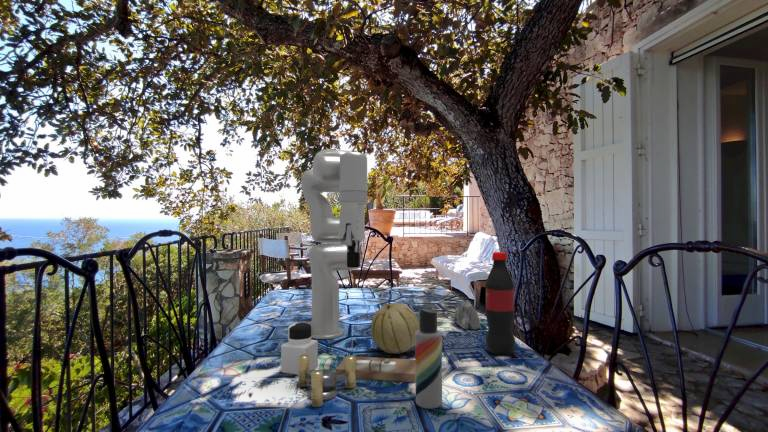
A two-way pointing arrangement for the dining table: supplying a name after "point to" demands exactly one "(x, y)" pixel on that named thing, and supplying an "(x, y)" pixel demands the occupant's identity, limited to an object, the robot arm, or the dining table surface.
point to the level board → (388, 376)
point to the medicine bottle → (298, 348)
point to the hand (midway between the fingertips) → (353, 267)
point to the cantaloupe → (394, 328)
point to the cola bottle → (500, 307)
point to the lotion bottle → (428, 361)
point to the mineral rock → (467, 316)
